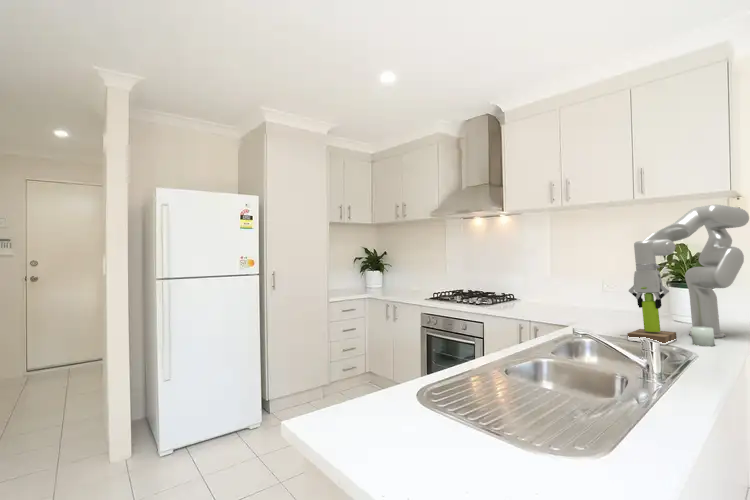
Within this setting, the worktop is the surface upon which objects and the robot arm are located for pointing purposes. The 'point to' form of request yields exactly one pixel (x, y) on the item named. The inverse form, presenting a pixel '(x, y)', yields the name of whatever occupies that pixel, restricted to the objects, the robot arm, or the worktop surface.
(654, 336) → the walnut plinth
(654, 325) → the soap dispenser
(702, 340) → the pale green rounded block
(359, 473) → the worktop surface
